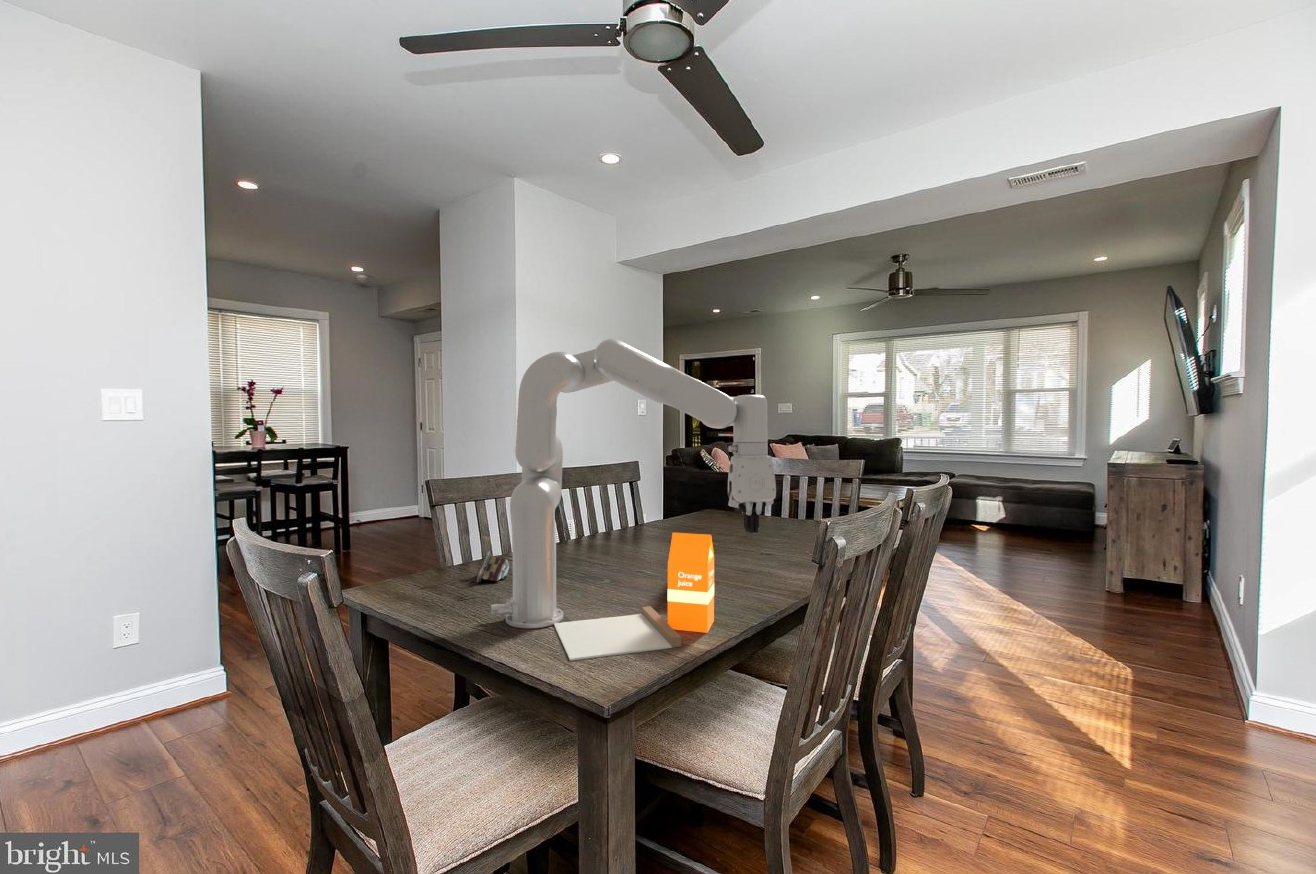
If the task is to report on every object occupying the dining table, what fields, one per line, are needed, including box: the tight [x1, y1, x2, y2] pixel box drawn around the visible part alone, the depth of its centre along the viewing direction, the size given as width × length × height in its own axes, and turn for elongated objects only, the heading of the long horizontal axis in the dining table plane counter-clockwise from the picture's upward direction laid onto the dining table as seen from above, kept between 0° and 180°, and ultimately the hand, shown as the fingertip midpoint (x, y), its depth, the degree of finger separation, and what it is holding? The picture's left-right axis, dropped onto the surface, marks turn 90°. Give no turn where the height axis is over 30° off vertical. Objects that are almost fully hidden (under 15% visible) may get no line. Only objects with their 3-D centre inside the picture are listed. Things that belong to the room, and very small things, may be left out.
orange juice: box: [667, 532, 715, 634], centre depth 130 cm, size 8×9×20 cm
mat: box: [553, 605, 682, 662], centre depth 124 cm, size 22×20×2 cm
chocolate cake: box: [476, 549, 510, 583], centre depth 166 cm, size 10×7×12 cm
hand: (751, 531), depth 134 cm, fingers closed
